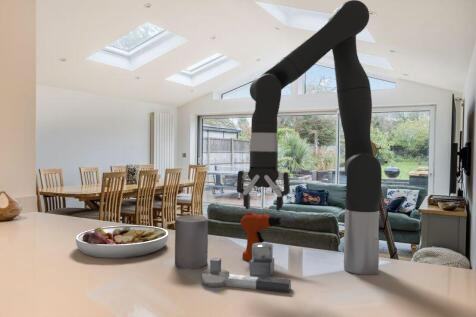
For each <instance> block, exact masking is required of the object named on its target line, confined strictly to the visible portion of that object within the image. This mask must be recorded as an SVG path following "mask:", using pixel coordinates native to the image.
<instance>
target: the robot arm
mask: <svg viewBox="0 0 476 317" xmlns="http://www.w3.org/2000/svg"><path fill="white" fill-rule="evenodd" d="M369 20H370V12H369V8H368V6H367V5H366V4H365V3H364V2H363V1H360V0H347V1H345V2H344V3H342V4H341V5H340V6H339V7H337V8H336V9H335V10H334V11H333V12H332V13H331V14H330V15H329V17H328V20H327V23H326V24H324V25H323V26H322V27H321V28H320V29H318V31H316V32H314V33H312V35H311V36H309V37H308V38H307V39H305V40H304V41H302V42H301V43H299V45H297V46H296V47H295V48H293V49H292V50H290V51H289V52H288V53H287V54H286V55H284V56H283V57H282V58H281V59H280V60H279V61H278V62H276V64H274V65H273V66H272V67H271V68H269V69H268V70H266V71H264V73H261V75H259V76H258V77H257V78H256V79H254V80H253V81H252V82H251V84H250V87H249V95H250V97H251V99H252V100H253V101H254V102H255V103H254V104H255V106H254V111H253V113H252V115H251V121H250V122H251V127H250V128H251V130H250V141H249V170H248V171H245V170H239V171H238V172H237V180H236V181H237V182H236V183H237V184H236V192H237V193H240V194H242V196H243V202H242V203H243V207H245V209H246V210H249V209H250V207H251V195H250V193H251V192H252V190H253V189H254V188H255V187H256V188H262V187H263V188H265V189H266V188H267V189H268V188H271V189H272V191H274V193H275V194H276V207H275V208H276V211H277V212H280V210H281V209H283V206H284V205H283V202H284V196H288V195H289V194H290V193H291V189H290V188H291V187H290V186H291V184H290V182H291V181H290V172H288V171H285V172H279V171H278V163H279V162H278V158H279V155H278V154H279V151H278V150H279V140H278V116H279V115H278V114H279V110H280V104H281V98H282V90H283V89H285V88H286V87H287V86H288V85H290V84H292V83H294V82H296V80H298V79H299V78H300V77H301V76H303V75H304V74H305V73H307V72H308V71H309V70H310V69H311V68H312V67H314V65H316V64H317V63H318V62H319V61H320V60H321V59H323V57H325V56H326V55H327V54H328V53H329V52H330V51H331V52H332V56H333V64H334V75H335V84H336V96H337V105H338V112H339V116H340V117H339V118H340V123H341V127H342V132H343V137H344V173H345V176H346V187H345V188H346V190H345V200H344V231H343V232H344V235H343V236H344V238H343V241H344V242H343V243H344V244H343V270H345V271H347V273H352V274H357V275H366V276H367V275H379V263H380V262H379V259H380V254H379V252H380V239H379V225H380V224H379V223H380V222H379V219H380V218H379V217H380V216H379V215H380V202H381V198H382V195H381V194H382V180H383V179H382V166H381V163H380V161H379V159H378V158H377V157H376V156H374V152H373V146H372V145H373V144H372V140H371V138H372V137H371V129H372V128H371V127H372V115H373V100H372V90H371V83H370V79H369V76H368V74H367V73H366V70H365V69H364V67H363V65H362V63H361V62H360V59H359V56H358V49H357V35H358V34H360V33H361V32H363V30H364V29H365V28H366V27H367V26H368V24H369ZM247 177H248V178H249V179H250V183H248V185H247V186H246V188H244V186H245V185H244V184H245V179H247ZM279 178H280V180H281V181H283V190H282V189H281V188H280V185H279V184H278V183H277V180H278V179H279Z"/></svg>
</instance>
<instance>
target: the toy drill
mask: <svg viewBox="0 0 476 317" xmlns="http://www.w3.org/2000/svg"><path fill="white" fill-rule="evenodd" d="M296 222H297V219H295V218H281V217H279V216H272V215H268V214H265V213H261V214H260V213H254V212H252V211H251V212H250V211H249V212H247V213H246V214H245V215H244V216H242V218H241V219H240V225H241V228H242V229H243V230H244V231H245V232H246V241H247V242H246V247H245V248H246V249H245V250H244V251H243V252H242V255H241V256H242V259H243V260H244V261H246V262H250V261H251V260H252V244H254V243H264V242H265V239H264V238H263V236H262V234H261V232H260V231H261V230H265V229H268V228H272V227H275V226H280V225H281V224H283V223H284V224H285V223H296Z"/></svg>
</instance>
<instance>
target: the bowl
mask: <svg viewBox="0 0 476 317" xmlns="http://www.w3.org/2000/svg"><path fill="white" fill-rule="evenodd" d="M168 240H169V232H168V230H167V229H164V228H162V227H159V226H158V227H157V226H152V225H151V226H149V225H132V224H131V225H114V226H104V227H97V228H94V229H89V230H86V231H83V232H81V233H79V234H77V235H76V237H75V244H76V247H77V248H78V249H79V251H80V252H82V253H83V254H84V255H87V256H90V257H95V258H101V259H124V258H134V257H135V258H137V257H141V256H142V257H143V256H146V255H150V254H152V253H155V252H157V251H159V250H161V249H162V248H163V247H164V246H165V245H166V244H167V243H168Z"/></svg>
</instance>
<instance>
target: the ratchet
mask: <svg viewBox="0 0 476 317" xmlns="http://www.w3.org/2000/svg"><path fill="white" fill-rule="evenodd" d="M201 284H202V286H204V285H205V286H204V287H208V288H222V287H232V288H233V287H234V288H242V289H243V288H244V289H251V290H256V291H257V290H258V291H267V292H275V293H282V294H283V293H284V294H290V291H291V288H292V287H291V286H292V280H291V278H282V277H281V278H280V277H273V276H271V277H262V276H259V277H252V276H250V275H242V274H231V273H230V271H229V270H226V269H225V268H222V258H220V257H212V258H211V259H210V260H209V268H208V269H205V270H203V271H202V272H201Z"/></svg>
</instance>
